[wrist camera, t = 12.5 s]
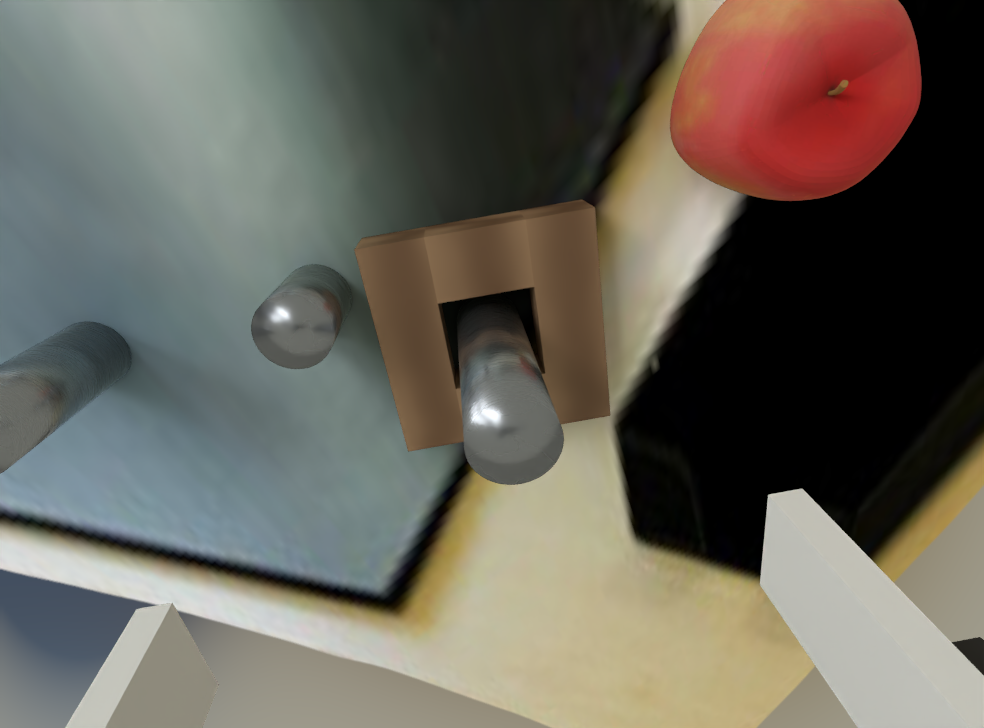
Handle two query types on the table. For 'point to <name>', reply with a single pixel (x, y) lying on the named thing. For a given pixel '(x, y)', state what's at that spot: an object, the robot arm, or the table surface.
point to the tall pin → (503, 395)
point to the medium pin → (56, 384)
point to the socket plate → (477, 272)
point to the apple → (796, 95)
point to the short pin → (302, 317)
